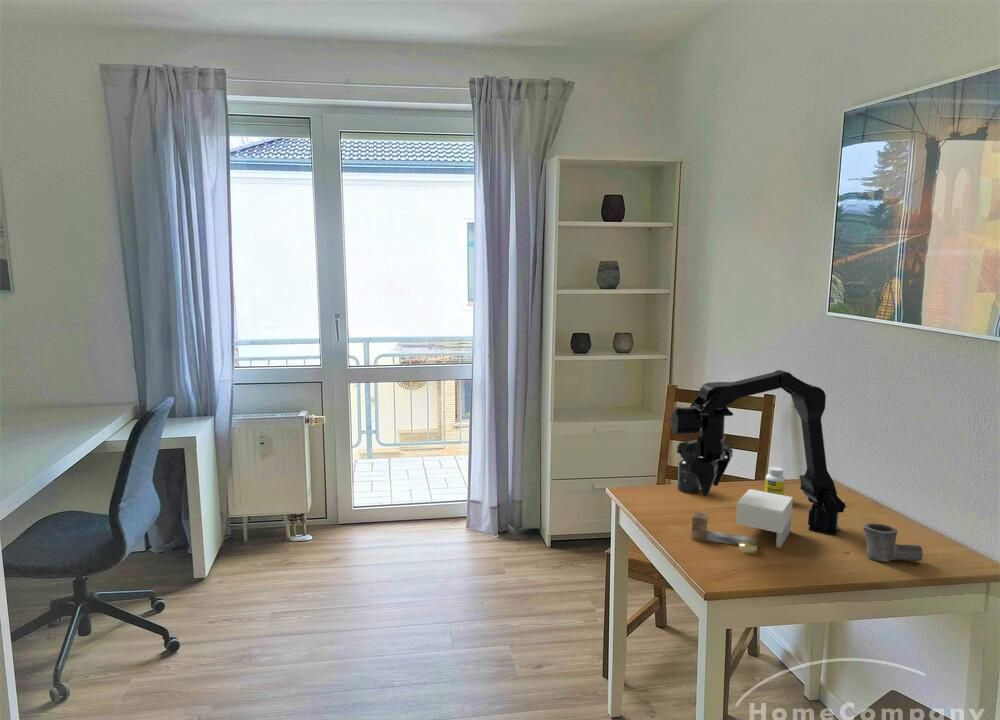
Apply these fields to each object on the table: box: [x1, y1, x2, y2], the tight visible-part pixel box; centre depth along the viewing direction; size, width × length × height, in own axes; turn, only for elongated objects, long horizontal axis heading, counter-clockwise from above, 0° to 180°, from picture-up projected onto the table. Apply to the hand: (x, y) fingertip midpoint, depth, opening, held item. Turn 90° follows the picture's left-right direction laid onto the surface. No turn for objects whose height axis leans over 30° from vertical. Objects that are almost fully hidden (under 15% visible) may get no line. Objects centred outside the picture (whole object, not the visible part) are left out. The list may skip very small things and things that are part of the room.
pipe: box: [862, 522, 924, 563], centre depth 158 cm, size 6×13×8 cm, turn 78°
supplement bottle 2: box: [764, 466, 786, 496], centre depth 198 cm, size 5×5×10 cm
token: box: [737, 541, 758, 555], centre depth 163 cm, size 4×4×2 cm
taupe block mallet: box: [690, 511, 757, 546], centre depth 168 cm, size 16×4×6 cm, turn 69°
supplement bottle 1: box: [677, 454, 701, 494], centre depth 206 cm, size 7×7×12 cm
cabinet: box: [735, 488, 794, 549], centre depth 172 cm, size 11×13×10 cm
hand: (710, 490), depth 172 cm, fingers open, 9 cm apart
